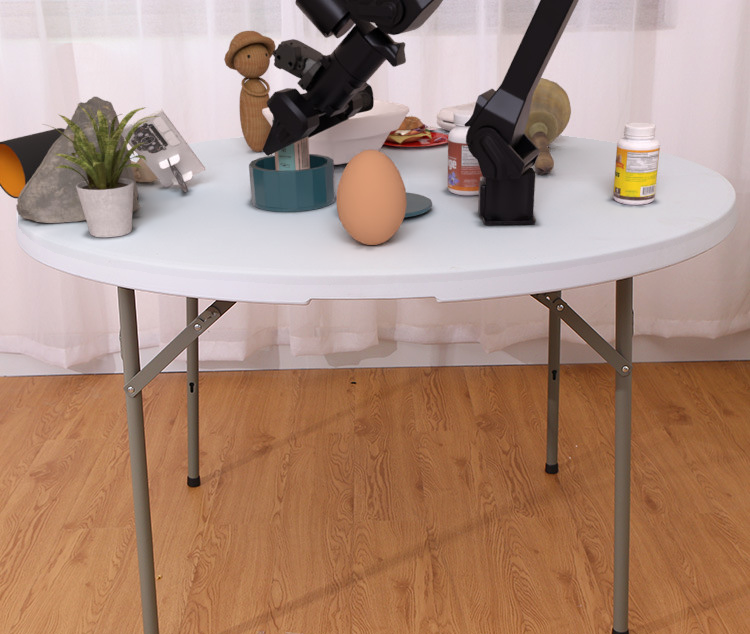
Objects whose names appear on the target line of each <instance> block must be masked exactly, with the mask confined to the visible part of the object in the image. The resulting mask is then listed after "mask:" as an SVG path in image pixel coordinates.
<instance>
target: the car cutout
mask: <svg viewBox="0 0 750 634" xmlns="http://www.w3.org/2000/svg"><path fill="white" fill-rule="evenodd" d="M149 116H158V117H151V118H146V119H143V118H145V117H149ZM141 119H143V120H141ZM139 120H141V121H139ZM138 121H139V122H142V121H147V122H144V123H142V124H141V125H140V126H139V127H138V128H137V129H136V130H135V131H134V133H133V135H132V136H131V138H130V140H129V142H128V145H129V146H130V147H131V148H132V147H134V146H135V145H137V144H140V143H144V144H141V145H139V146H138V147H137V148H136V150H135V151H134V152H135V154H137V156H138V155H142V156H144V157H145V158H146V160H144V159H142V158H141V159H142V160H143V161H144V162H145V164H146V165H147V166H148V167H149V168H150V170H151V171H152V172H153V173H154V174H155V175H156V177H157V178H158V179H157V180H158V181H160V183H161V184H162V185H163V187H165V188H169V187H170V186H173V185H174V186H179V187H180V188H181V189H182V191H183V192H184V193H187V192H189V188H188V186H187V182H188V181H190V180H192V178H193V176H195V175H197V174H199V173H201V172H204V171H206V167H205V165H204V164H203V163H202V162H201V160H200V159H199V157H198V156H197V155H196V154H195V152H194V150H193V149H192V148H191V147H190V146H189V144H188V142H187V141H186V140H185V138H184V137H183V136H182V134H181V133H180V132H179V130H178V129H177V127H175V125H174V124H173V123H172V121H171V119H169V117H168V116H167V114H166V113H165V112H164V110H163V109H162V108H161V109H159V110H157V111H154V112H152V113H150V114H148V115H146V116H144V117H141V118H139V119H137V120H135V121H133V122H131V123H127V124H126V126H125V127H124V130H123V132H122V134H121V135H122V136H123V138H124V139H125V137H126V136H128V135H127V134H129V133H128V132H129V131H131V128H132V127H134V126H135V125H136V124H135V123H137V122H138ZM139 122H138V123H139ZM134 124H135V125H134ZM125 140H126V139H125ZM145 142H146V143H145ZM146 161H147V162H146Z"/></svg>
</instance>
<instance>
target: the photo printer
mask: <svg viewBox="0 0 750 634" xmlns="http://www.w3.org/2000/svg"><path fill="white" fill-rule="evenodd" d="M475 104H476V101H474V102H470V103H465V104H459V105H454V106H447V107H444V108H441V109H440V110H438V112H437V113H436V124H437V126H438V127H440V128H441V129H443V130H444V131H448V132H450V131H451V130H452V129H453V128H455V126H456V125H455V124H454V121H453V120H454V113H455V112H457V111H462V110H474V108H475Z"/></svg>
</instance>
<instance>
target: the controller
mask: <svg viewBox="0 0 750 634" xmlns="http://www.w3.org/2000/svg"><path fill="white" fill-rule="evenodd" d="M367 84H368V86H367V87H366V88H365V89H364V90H362V91H359V92H358V93H359V94H360V95H361V97H362V104H363V107H362V108H361V109H360V110H359V111H358V112H357V113H362V112H366V111H369V110H371V109H372V108H373V106H374V100H375V99H374V91H373V88H372V86H371V85H370V84H369V83H367ZM306 93H307V92H303V93H300V94H301V95H302V96H303V97H304V98H305V99H306V100H308V99H309V98H308V97H307V95H306ZM348 110H349V109H348V108H347V109H346V110H345V111H344V112H345V113H346V112H347V111H348Z"/></svg>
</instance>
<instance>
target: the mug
mask: <svg viewBox="0 0 750 634" xmlns="http://www.w3.org/2000/svg"><path fill="white" fill-rule="evenodd" d="M56 129H58V130H59V131H61V132H62V133H63V132H64V130H65V129H66V128H63V127H57V128H56ZM56 129H54V128H52V129H49V130H44V131H40V132H36V133H31V134H28V135H23V136H18V137H15V138H10V139H7V140H2V141H0V188H1V190H3V192H4V193H5V194H6V195H8V196H9V197H10V198H13V199H17V200H18V197H19V195H20V193H21V191H22V190H23V188H24V186H25V185H26V184H27V183H28V181H29V180H30V179H31V178H32V176H33V174H34V173H35V172H36V170H37V168H38V167H39V166H40V165H41V163H42V161H43V160H44V158H45V156H46V155H47V153H48V151H49V149H50V148H51V147H52V145H53V144H54V142H55V141H56V140H57V139H58V138H59V137H60V136H61V135H62V134H61V133H60V132H59V131H58V130H56Z"/></svg>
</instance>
